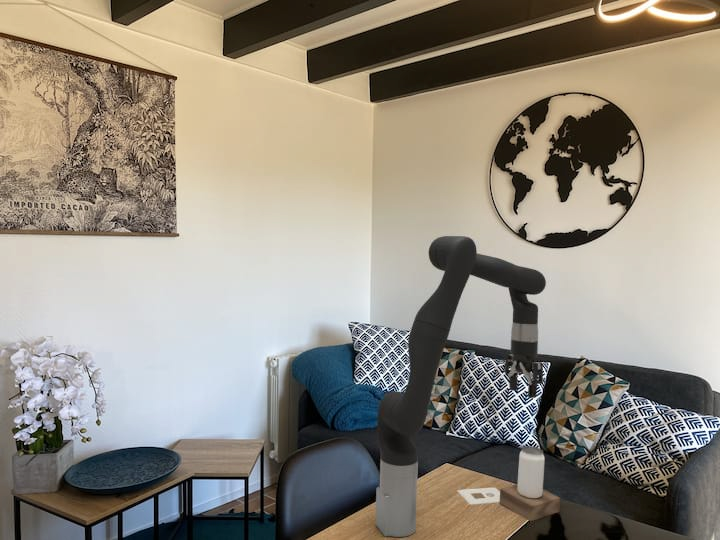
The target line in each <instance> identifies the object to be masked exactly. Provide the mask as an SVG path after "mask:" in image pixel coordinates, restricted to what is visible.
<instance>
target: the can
mask: <svg viewBox="0 0 720 540" xmlns="http://www.w3.org/2000/svg"><path fill="white" fill-rule="evenodd" d="M517 473H518V474H517V484H518V487H517V491H518V492H519V494H520V495H522V496H523V497H526V498H531V499H537V498H540V497H541V496H542V491H543V489H544V475H545V474H544V473H545V455H544V450H543V449H541V448H539V447H535V446H530V445H529V446H527V445H526V446H522V447H521V451H520V452H519V456H518V472H517Z"/></svg>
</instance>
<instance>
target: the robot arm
mask: <svg viewBox="0 0 720 540" xmlns="http://www.w3.org/2000/svg"><path fill="white" fill-rule="evenodd" d="M477 251H478V250H477V246H476V243H475V241H474V239H472V238H471V237H469V236H461V235H443V236H439V237H437V238H436V239H434V240H433V241H432V242H431V243H430V245H429V248H428V260H429V262H430V263H431V265H432V266H433V267H434V268H436V269H437V270H440V271H443V272H444V273H443V276H442V278H441V281H440V283H439V284H438V287H437V288H436V290H434V292H433V293H432V294H431V296H430V297H428V299H427V300H426V301H425V302H424V303H423V305H422V306H421V307H420V308H419V309H418V311H417V312H416V315H415V317H414V321H413V323H412V326H411V327H410V328H411V329H410V332H409V334H408V335H409V336H408V341H407V343H408V344H407V346H408V347H407V348H408V349H407V350H408V358H409V375H408V376H409V377H408V380H407V384H406V386H405V391H404V392H399V391H396V390H395V391H390V392H387V393H386V394H385V395H384V396H383V397H382V398H381V399H380V402H379V404H378V408H377V418H376V421H377V425H376V426H377V427H376V428H377V432H376V433H377V445H378V449H379V452H380V464H379V468H380V469H379V486H377V487H376V494H375V495H376V496H375V521H374V522H375V526H376V527H377V528H378V530H379V531H380V532H381V533H382V534H383V536H384V537H394V538H397V537H398V538H402V537H403V538H404V537H407V536H411V535H413V534H414V533H415V532H416V528H417V504H418V503H417V502H418V501H417V500H418V499H417V498H418V497H417V496H418V471H419V470H418V469H419V468H418V467H419V450H418V447H417V446H416V444H415V443H414V442H413V440H412V437H414V436H416V435H417V434H418V433H419V432H420V431H421V430H422V429H423V426H424V424H425V423H426V419H427V415H428V411H429V407H430V402H431V398H432V392H433V387H434V383H435V380H436V377H437V372H438V369H439V366H440V362H441V359H442V355H443V352H444V349H445V347H446V344H447V341H448V338H449V334H450V331H451V327H452V325H453V320H454V317H455V314H456V312H457V310H458V309H457V308H458V305H459V302H460V300H461V297H462V295H463V292H464V290H465V287H466V285H467V283H468V281H469V279H470V276H473V277H476V278H479V279H481V280H484V281H487V282H490V283H491V284H492V283H493V284H495V285H498V286H500V287H504V288H508V292H509V298H510V300H511V301H510V302H511V305H512V324H511V330H510V331H511V333H510V334H511V335H510V353H509V354H506V355H505V366H504V374H505V375H508V378H509V383H508V384H509V385H508V386H509V390H510V391H517V390H518V376H519V375H520V373H521V375H523V376H524V378H526V380H527V381H528V386H527V388H528V389H527V392H528V393H527V397H528V398H530V399H534V398H536V397H537V390H538V389H537V387H538V385H542V384H543V382H544V380H543V379H544V374H543V373H544V371H543V370H544V368H543V367H544V365H543V362H541V361H540V362H539V361H538V362H537V361H536V360H535V357H536V356H537V355H538V354H539V353H538V351H539V348H538V347H539V326H538V325H539V324H538V322H539V307H538V304H536V303H534V302H532V301H530V300H529V299H528V296H527V295H532V296H535V295H540V294H541V293H542V292H543V291H544V290H545V289H546V286H547V281H546V280H547V279H546V278H545V275H544V274H543V273H542V272H541V271H539V270H537V269H534V268H530V267H526V266H520V265H517V264H515V263H512V262H509V261H507V260H505V259H503V258H498V257H495V256H490V255H486V254H482V253H477ZM509 368H510V369H509Z"/></svg>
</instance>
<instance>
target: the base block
mask: <svg viewBox="0 0 720 540" xmlns="http://www.w3.org/2000/svg"><path fill="white" fill-rule="evenodd" d="M517 487H518V483H517V484H513V485H510V486H506V487H502V488H500V489H499V491H500V503H499V504H500V505H502V506H504V508H507V509H509V510H510V511H512V512H514V513H515V514H517V515H519V516H521V517H522V518H524V519H526V520H528V521H530V522H532V521H536V520H539V519H541V518H545V517H549V516H551V515H554V514H556V513H557V514H558V513H560V506H561V497H559V496H558V495H556V494H554V493H552V492H550V491H548V490H546V489H544V488H543V491H542V496H541V497H540V498H537V499H531V498H526V497H523V496H522V495H520V494H519V492H518V491H517Z"/></svg>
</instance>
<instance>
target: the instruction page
mask: <svg viewBox="0 0 720 540" xmlns="http://www.w3.org/2000/svg"><path fill="white" fill-rule="evenodd" d="M456 492H458V494H459V495H460V496H461V498H463V499H464V500H465V501H466V502H467V503H468V504H469V505H470V506H473V505H485V504H500V489H497V487H495V486H494V487H482V488H471V489H469V488H467V489H458V490H456Z"/></svg>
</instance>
